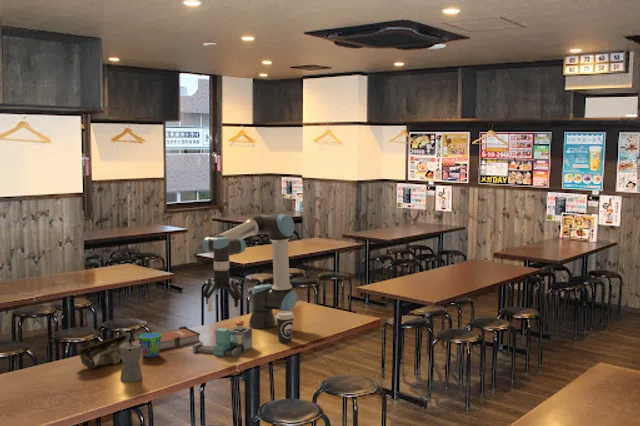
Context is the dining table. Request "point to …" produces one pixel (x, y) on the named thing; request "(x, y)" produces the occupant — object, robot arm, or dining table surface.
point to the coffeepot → (130, 361)
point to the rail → (210, 350)
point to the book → (178, 338)
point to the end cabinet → (241, 338)
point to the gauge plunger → (239, 325)
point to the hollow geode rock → (102, 352)
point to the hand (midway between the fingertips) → (222, 312)
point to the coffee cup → (284, 326)
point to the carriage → (222, 341)
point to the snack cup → (150, 344)
